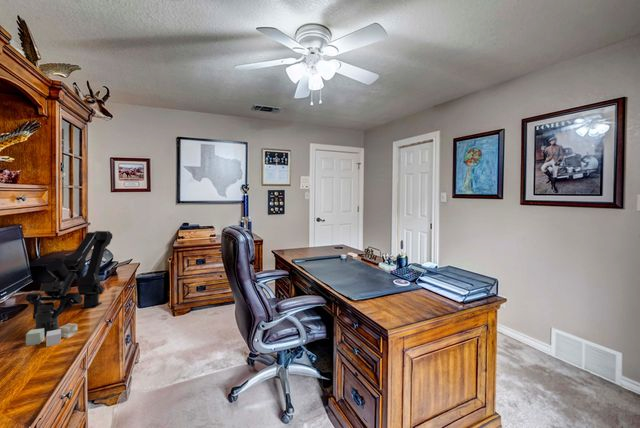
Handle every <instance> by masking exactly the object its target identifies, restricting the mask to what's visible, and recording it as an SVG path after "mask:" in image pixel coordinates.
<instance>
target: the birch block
mask: <svg viewBox="0 0 640 428" xmlns="http://www.w3.org/2000/svg"><path fill="white" fill-rule="evenodd" d="M58 329H61V338H65V339H69V338H71V337H73V336H75V335H77V334H78V323H69V322H68V323H66V324H64V325H62V326H58Z"/></svg>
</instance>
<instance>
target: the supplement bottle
mask: <svg viewBox="0 0 640 428" xmlns="http://www.w3.org/2000/svg"><path fill="white" fill-rule="evenodd" d="M38 310H39V311H38V312H37V313H36V314H35V319H34V320H35V321H34V322H35V327H34V328H35V329H42V328H44V337H46V335H47V331H53V330H58V329H59V316H58V317H57V318H56V319H54V318H53V317H54V314H55V312H56V310H57V308H55V302H53V301H48V302H44V303H43V304H40V305H39V306H38Z"/></svg>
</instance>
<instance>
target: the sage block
mask: <svg viewBox="0 0 640 428" xmlns="http://www.w3.org/2000/svg"><path fill="white" fill-rule="evenodd" d="M44 341H45V336H44V328H42V329H36V328H35V329H30V330H29V331H28V332H27V333H26V334H25V346H26V347H28V346H29V347H30V346H37V345H41V344H42V343H43V342H44ZM41 342H42V343H41ZM40 343H41V344H40ZM36 344H37V345H36Z"/></svg>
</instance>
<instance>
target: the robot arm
mask: <svg viewBox="0 0 640 428" xmlns="http://www.w3.org/2000/svg"><path fill="white" fill-rule="evenodd" d="M111 240H113V233H111V232H110V230H94V231H93V232H92V231H89V232H86V233H85V236H84V238H83V239H82V240H81V242H80V243H79V245H78V246H77V247H76V249H75V251H74V252H73V253H71V254H69V255H67V256H66V257H65V258H64V259H63V258H62V257H56V258H55V259H54V260H52V261H50V262H48V263H47V264H46V266H45V270H46V271H47V272H48V273H49V274H50V275H51V276H52V277H53V278H55V281H53V282H41V285H40V287H39V292H28V293H27V294H26V295H25V296H24V300H25V301H26V302H28V303H29V304H30V305H33V310H32V311H33V313H32V319H33V320H35V314H36V313H37V312H38V311H39V310H38V306H39V305H40V304H43V303H45V302H47V301H48V302H53V301H55V302H58V301H59V305H58V307H57V308H56V309H57V310H56V312H55V314H54V317H53V318H54V319H56V318H57V317H58V318H59V316H61V315H62V314H63V313H65V311H67V310H68V309H70V308H71V307H74V306H75V305H81V304H82V303H83V305H81V306H80V308H81V309H82V308H85V309H87V308H89V309H93V308H96V307H98V306H100V305H101V304H103V302H100V301H99V300H100V295H102V294H103V293H104V287H103V285H101V279H100V276H99V272H100V269H101V265H102V262H103V261H102V260H103V257H104V254H105V249H106V248H107V247H108V246H109V245H110V244H111V242H112V241H111ZM92 248H93V249H92ZM91 250H92V251H91ZM90 252H91V255H90V259H89V262H88V265H87V266H88V267H87V270H86V274H84V275H83V276H80V278H78V275H77V273H76V272H77V271H82V270H83V269H84V267H85V265H86V263H87V259H86V258H87V256H88V254H89V253H90ZM74 280H79V282H78V284H77V291H78V292H70V291H71V290H72V288H71V285H72V284H73V282H74ZM40 292H43V293H44V294H45V295H43V294H41V293H40ZM82 296H83V297H82Z"/></svg>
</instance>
